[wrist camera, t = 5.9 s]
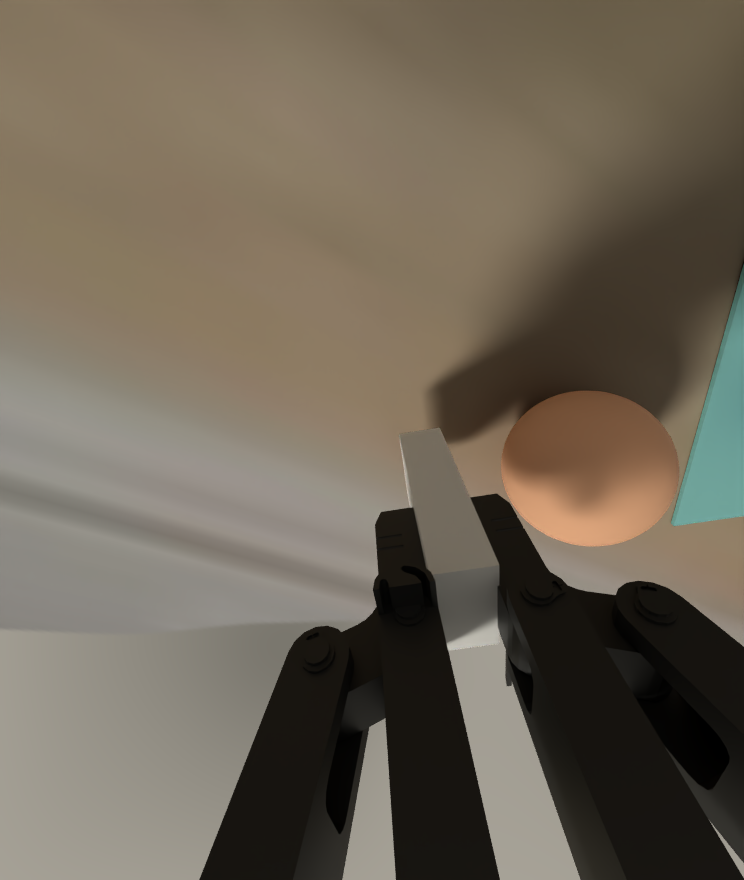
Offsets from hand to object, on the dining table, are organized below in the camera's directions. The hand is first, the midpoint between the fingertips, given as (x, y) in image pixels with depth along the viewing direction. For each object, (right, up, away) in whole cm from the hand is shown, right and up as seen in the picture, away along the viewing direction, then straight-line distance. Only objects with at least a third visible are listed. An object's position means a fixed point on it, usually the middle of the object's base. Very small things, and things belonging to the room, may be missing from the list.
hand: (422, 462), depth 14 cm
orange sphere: (+6, 0, -1) cm, 6 cm away
